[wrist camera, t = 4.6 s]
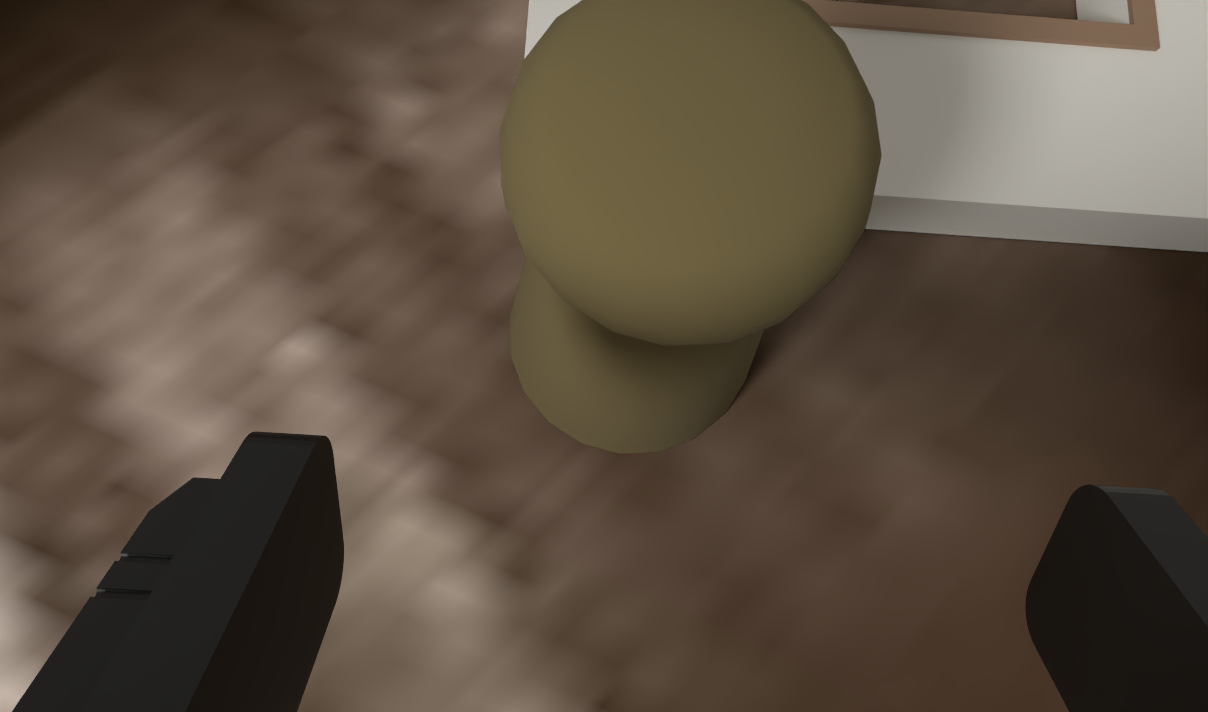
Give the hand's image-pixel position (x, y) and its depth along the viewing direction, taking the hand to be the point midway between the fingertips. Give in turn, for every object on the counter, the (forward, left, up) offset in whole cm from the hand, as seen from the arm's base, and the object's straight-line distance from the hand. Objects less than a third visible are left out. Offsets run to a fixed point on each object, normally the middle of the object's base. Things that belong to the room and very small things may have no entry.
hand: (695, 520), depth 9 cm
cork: (0, +5, -11) cm, 12 cm away
